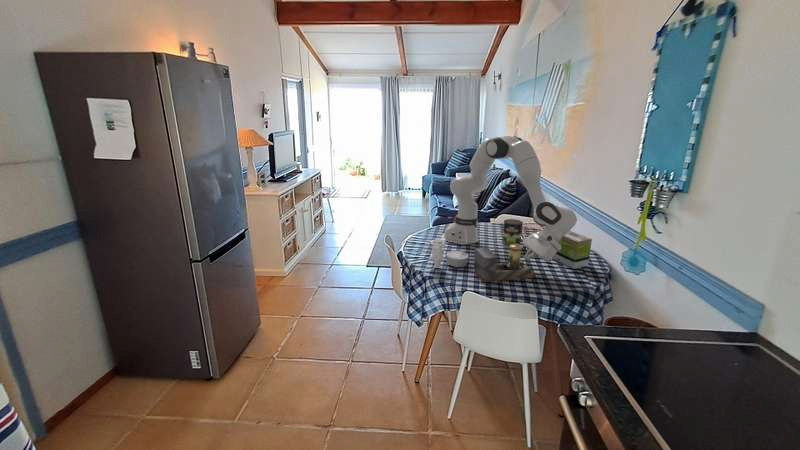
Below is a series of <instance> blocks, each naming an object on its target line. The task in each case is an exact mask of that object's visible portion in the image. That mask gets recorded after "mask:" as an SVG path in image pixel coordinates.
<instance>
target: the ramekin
mask: <svg viewBox="0 0 800 450" xmlns="http://www.w3.org/2000/svg"><path fill="white" fill-rule="evenodd" d="M469 257H470V255H469V254H468V253H467V252H466V251H465V252H464V251H462V250H451V251H448V252H446V254H445V258H446V262H447V264H448V266H449V265H451V266H454V267H453V268H455V267H461V268H464V267H466V266H467V263H468V260H469ZM451 266H450V267H451Z"/></svg>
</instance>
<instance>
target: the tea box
mask: <svg viewBox="0 0 800 450" xmlns="http://www.w3.org/2000/svg"><path fill="white" fill-rule="evenodd" d="M592 240H593V239H592V238H590V237H587V236H585V235H582V234H580V233H577V232H574V231H572V230H570V231H569V232H568V233H567V234H565V235H564V236H562V238H561V239H560V241H558V242H559V244H560V246H561V250H559V251H557V253H556V254H555V255H554V256H553V257H552V258H551V259H552V260H555V261H557V262H559V263H561V264H563V265H565V266H567V267H569V268H571V269H572V270H575V269H580V268H585V267H588V266H589V260H590V254H591V248H592Z"/></svg>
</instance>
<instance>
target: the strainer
mask: <svg viewBox="0 0 800 450" xmlns="http://www.w3.org/2000/svg"><path fill="white" fill-rule="evenodd" d="M430 245H431V246H432V247H431V248H432V249H431V254H430V259H431V260H433V261H434V266H435V267H437V268H439V267H442V266H441V263H442V261H444V260H445V259H446V254H445V253H444V251H445V249H444V247H446V241H445V239H441V238H439V239H437V238H435V239H431V240H430Z"/></svg>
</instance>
